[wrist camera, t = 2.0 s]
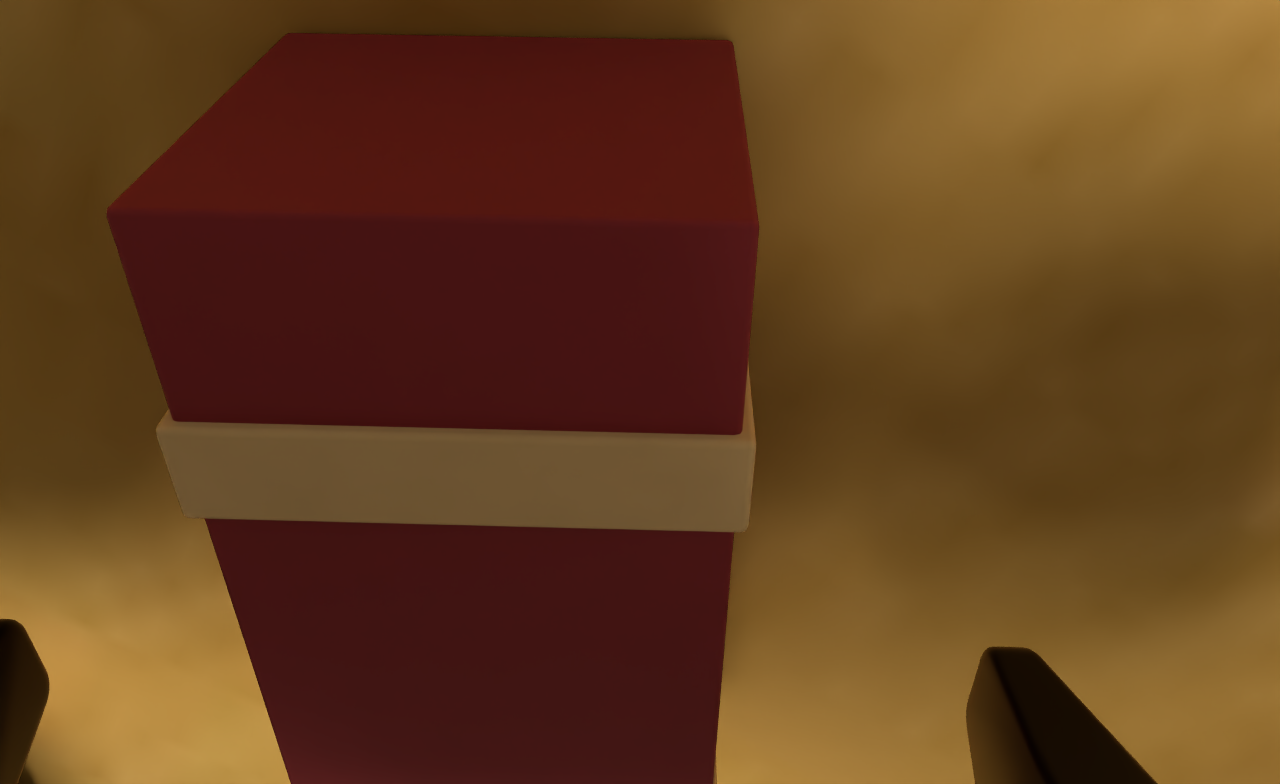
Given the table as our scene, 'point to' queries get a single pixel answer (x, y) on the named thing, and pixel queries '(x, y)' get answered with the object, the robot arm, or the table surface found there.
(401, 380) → the block
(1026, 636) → the table surface
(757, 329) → the table surface
